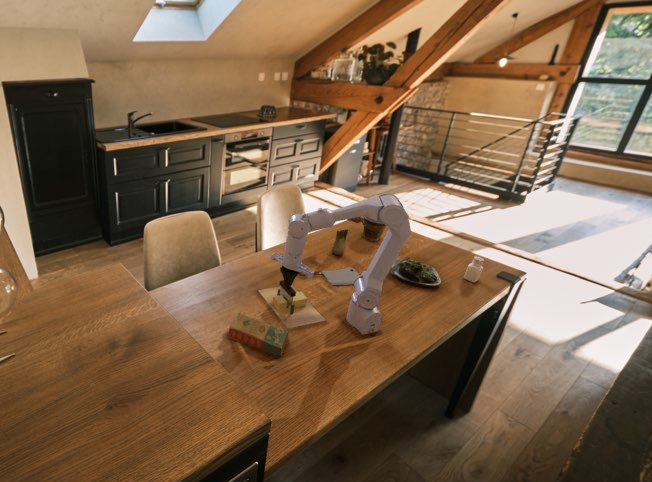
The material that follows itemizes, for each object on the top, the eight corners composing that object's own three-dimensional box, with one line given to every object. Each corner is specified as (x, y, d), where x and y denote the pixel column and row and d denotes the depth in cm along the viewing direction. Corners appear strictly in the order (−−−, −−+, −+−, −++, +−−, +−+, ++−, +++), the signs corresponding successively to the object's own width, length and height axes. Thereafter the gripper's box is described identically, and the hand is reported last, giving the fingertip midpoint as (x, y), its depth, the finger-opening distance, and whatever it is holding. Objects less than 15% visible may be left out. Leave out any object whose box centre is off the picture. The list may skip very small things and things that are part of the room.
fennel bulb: (342, 251, 165) (347, 226, 160) (346, 257, 161) (352, 232, 156) (328, 250, 165) (333, 226, 161) (332, 256, 161) (337, 231, 156)
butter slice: (286, 309, 127) (287, 302, 126) (278, 311, 127) (279, 303, 125) (279, 302, 131) (281, 294, 130) (272, 303, 130) (273, 296, 129)
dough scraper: (293, 306, 126) (296, 292, 123) (288, 307, 125) (291, 293, 123) (282, 293, 132) (284, 279, 130) (277, 294, 131) (280, 280, 129)
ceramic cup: (387, 239, 176) (392, 220, 172) (374, 245, 171) (380, 225, 167) (362, 228, 186) (366, 209, 182) (349, 232, 181) (353, 213, 177)
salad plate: (385, 255, 163) (387, 246, 161) (433, 265, 156) (436, 256, 155) (388, 280, 146) (391, 269, 145) (442, 292, 140) (446, 282, 138)
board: (325, 322, 123) (328, 311, 122) (287, 330, 120) (289, 319, 118) (291, 286, 141) (293, 276, 139) (257, 292, 137) (258, 282, 135)
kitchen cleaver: (306, 285, 140) (295, 268, 149) (306, 287, 141) (295, 270, 150) (368, 282, 144) (353, 266, 152) (367, 284, 144) (353, 268, 153)
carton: (237, 322, 123) (238, 311, 121) (287, 341, 116) (289, 330, 114) (227, 338, 116) (229, 327, 114) (280, 359, 109) (282, 348, 107)
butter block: (306, 305, 130) (307, 298, 128) (289, 308, 128) (290, 301, 127) (299, 298, 133) (300, 291, 132) (282, 301, 131) (284, 294, 130)
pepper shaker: (467, 275, 151) (475, 254, 147) (478, 280, 148) (487, 259, 144) (462, 278, 149) (470, 257, 145) (474, 283, 146) (483, 262, 142)
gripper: (321, 255, 119) (314, 291, 124) (281, 238, 128) (276, 272, 134) (309, 264, 114) (302, 300, 119) (269, 245, 124) (264, 279, 129)
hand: (287, 286), depth 126 cm, fingers closed, pressing on dough scraper
